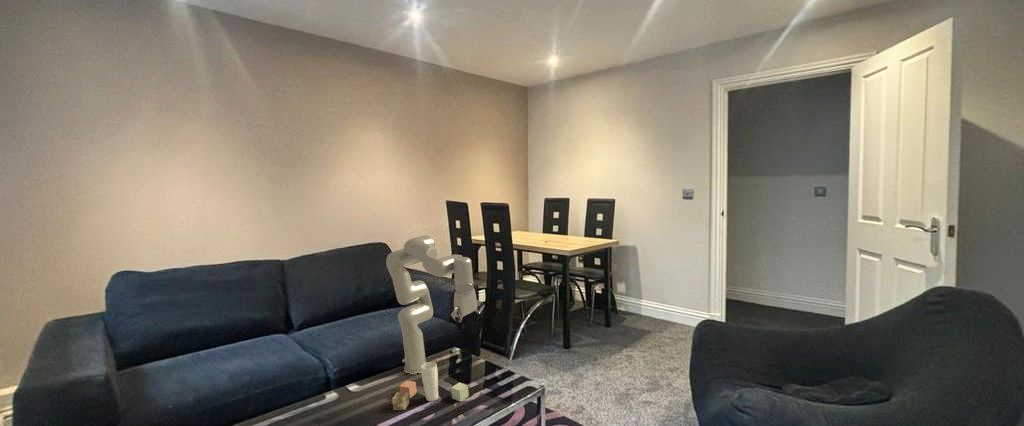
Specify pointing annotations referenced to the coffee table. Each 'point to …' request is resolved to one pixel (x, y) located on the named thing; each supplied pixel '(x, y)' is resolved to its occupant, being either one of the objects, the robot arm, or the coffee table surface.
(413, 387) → the terracotta block
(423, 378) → the drinking glass
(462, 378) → the coffee table surface
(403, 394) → the birch block
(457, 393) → the sage block
